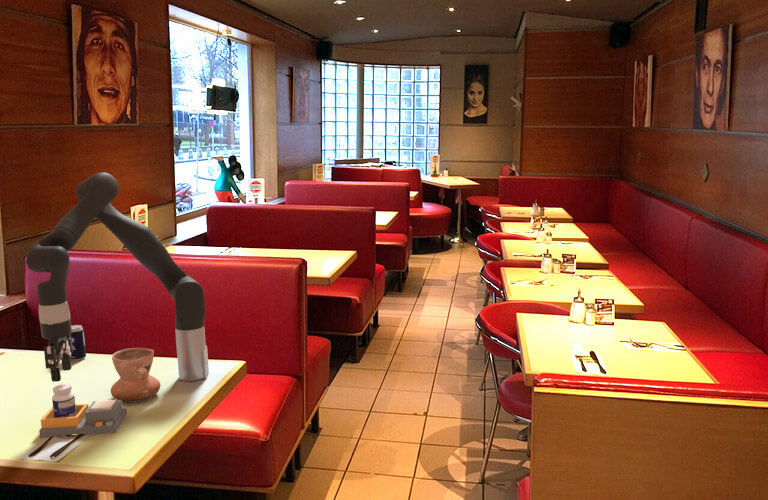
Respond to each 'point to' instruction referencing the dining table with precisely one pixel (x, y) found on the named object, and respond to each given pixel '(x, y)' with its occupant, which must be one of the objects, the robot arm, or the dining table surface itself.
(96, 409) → the button
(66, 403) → the pill bottle
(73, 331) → the beverage can
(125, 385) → the ceramic jug
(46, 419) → the grey and orange tray
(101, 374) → the dining table surface
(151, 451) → the dining table surface
